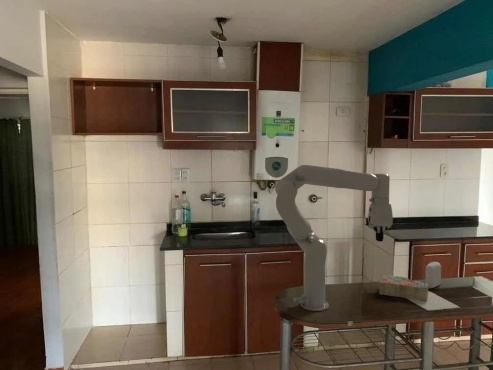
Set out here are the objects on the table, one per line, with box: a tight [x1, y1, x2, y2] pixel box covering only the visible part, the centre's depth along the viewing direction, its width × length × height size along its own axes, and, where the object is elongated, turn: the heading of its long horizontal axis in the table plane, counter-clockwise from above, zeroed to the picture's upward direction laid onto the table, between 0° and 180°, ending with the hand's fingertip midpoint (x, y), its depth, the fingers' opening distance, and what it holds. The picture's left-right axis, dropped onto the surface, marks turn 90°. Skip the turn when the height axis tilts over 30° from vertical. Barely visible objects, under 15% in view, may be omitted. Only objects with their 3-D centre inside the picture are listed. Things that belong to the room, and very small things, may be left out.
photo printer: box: [424, 261, 442, 289], centre depth 195 cm, size 10×4×12 cm, turn 127°
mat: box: [406, 290, 461, 312], centre depth 178 cm, size 16×26×1 cm, turn 11°
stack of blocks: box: [378, 274, 429, 301], centre depth 183 cm, size 21×6×12 cm
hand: (379, 240), depth 171 cm, fingers closed
